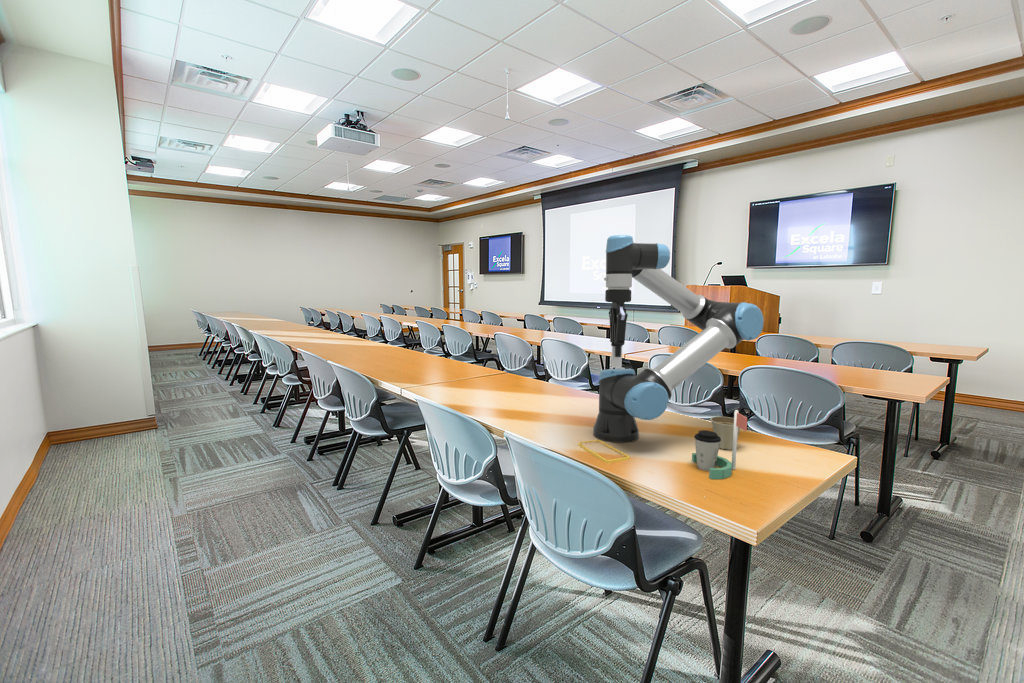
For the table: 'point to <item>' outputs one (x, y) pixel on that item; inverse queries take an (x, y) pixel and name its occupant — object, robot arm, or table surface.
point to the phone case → (602, 457)
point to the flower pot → (724, 431)
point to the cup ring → (718, 472)
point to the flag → (738, 422)
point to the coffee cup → (706, 449)
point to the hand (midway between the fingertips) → (616, 367)
